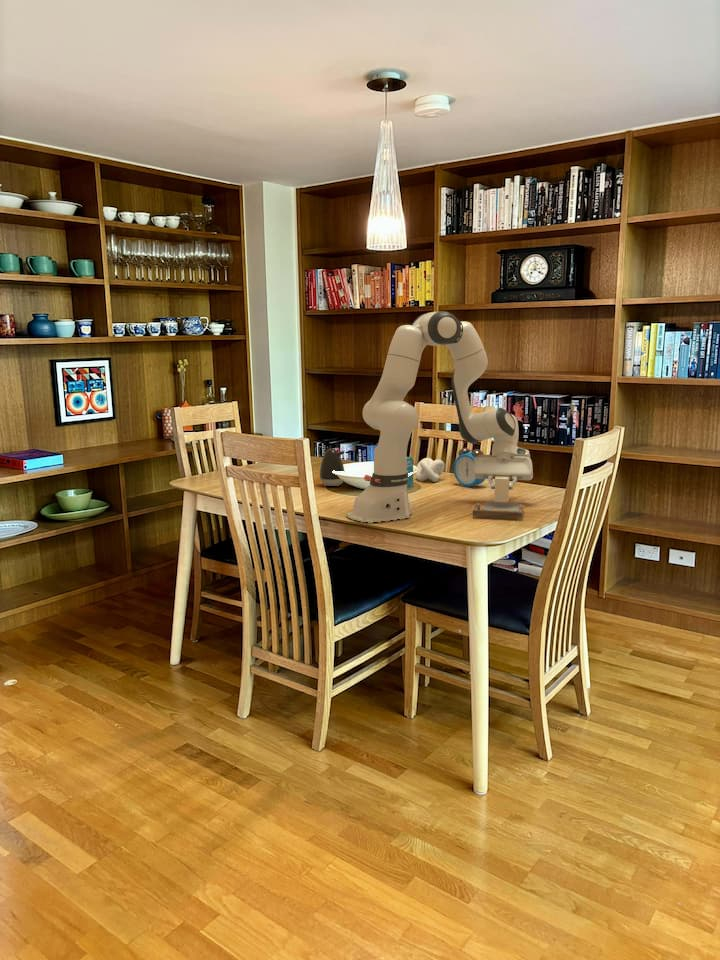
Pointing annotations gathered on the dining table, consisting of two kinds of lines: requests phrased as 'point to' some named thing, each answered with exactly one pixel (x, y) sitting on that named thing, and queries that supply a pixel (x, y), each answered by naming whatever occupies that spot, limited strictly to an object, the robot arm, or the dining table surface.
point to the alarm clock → (466, 467)
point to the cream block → (501, 488)
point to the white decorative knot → (429, 469)
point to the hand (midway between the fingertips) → (501, 488)
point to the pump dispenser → (331, 467)
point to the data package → (410, 469)
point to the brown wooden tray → (497, 514)
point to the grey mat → (501, 506)
